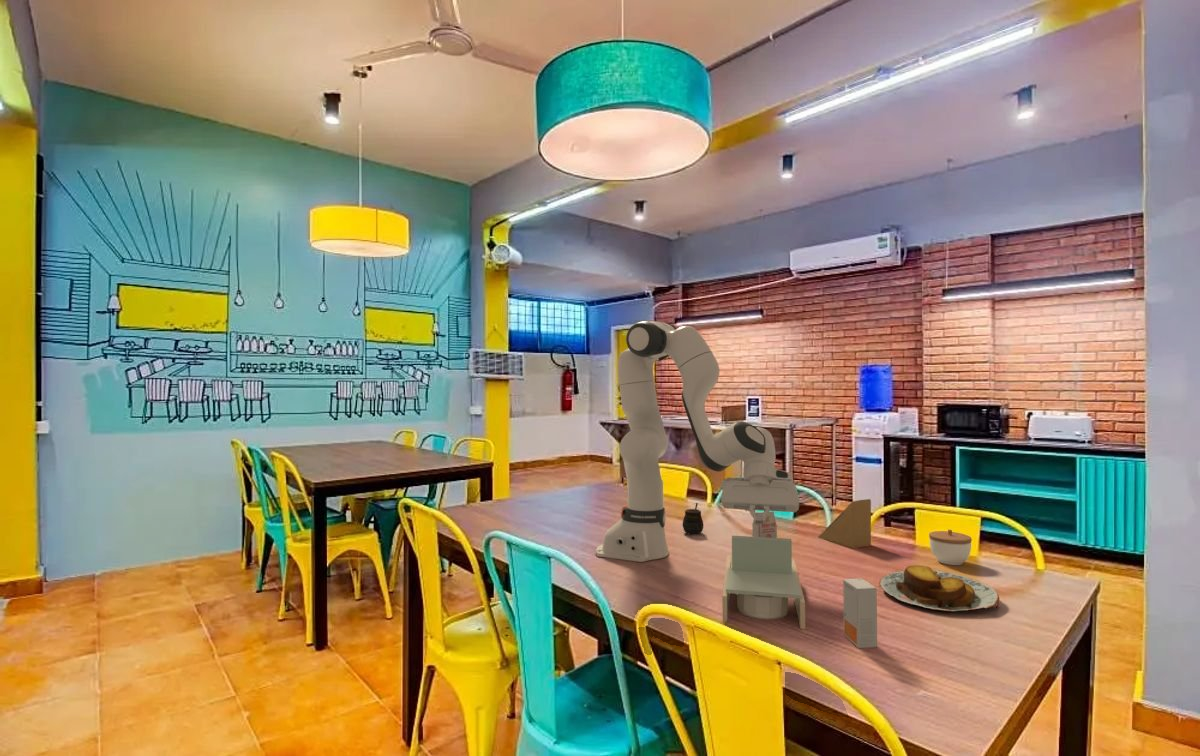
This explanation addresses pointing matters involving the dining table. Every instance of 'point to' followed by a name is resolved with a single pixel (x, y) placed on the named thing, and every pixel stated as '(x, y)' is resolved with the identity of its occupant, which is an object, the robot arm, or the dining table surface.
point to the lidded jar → (950, 546)
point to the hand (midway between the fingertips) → (759, 522)
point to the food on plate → (938, 589)
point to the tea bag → (765, 527)
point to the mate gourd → (693, 521)
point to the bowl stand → (763, 602)
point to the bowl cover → (762, 567)
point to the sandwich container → (851, 526)
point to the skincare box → (860, 612)
